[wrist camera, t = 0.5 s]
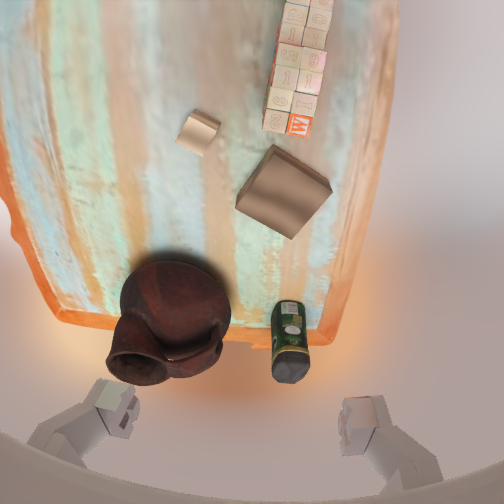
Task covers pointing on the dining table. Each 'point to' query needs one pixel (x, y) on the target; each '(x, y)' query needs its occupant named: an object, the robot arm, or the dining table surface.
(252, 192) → the walnut block
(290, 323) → the coffee jar
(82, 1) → the dining table surface
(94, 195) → the dining table surface
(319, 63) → the stack of blocks
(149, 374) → the jug
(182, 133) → the beige wooden cube
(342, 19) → the dining table surface
